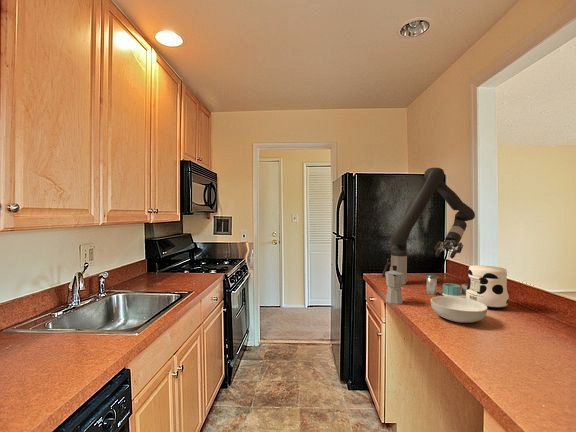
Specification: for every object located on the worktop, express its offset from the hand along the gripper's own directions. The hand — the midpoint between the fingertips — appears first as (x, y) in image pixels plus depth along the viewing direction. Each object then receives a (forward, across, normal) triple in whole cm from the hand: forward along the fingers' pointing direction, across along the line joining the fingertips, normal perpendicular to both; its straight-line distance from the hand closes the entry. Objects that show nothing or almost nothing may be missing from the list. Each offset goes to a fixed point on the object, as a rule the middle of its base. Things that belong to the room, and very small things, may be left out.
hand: (443, 256), depth 180 cm
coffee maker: (+44, -1, -17) cm, 47 cm away
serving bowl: (+43, +30, -15) cm, 55 cm away
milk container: (+21, +27, +7) cm, 35 cm away
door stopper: (+10, -41, +16) cm, 45 cm away
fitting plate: (+17, +11, +11) cm, 23 cm away
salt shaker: (+23, +1, +4) cm, 23 cm away
